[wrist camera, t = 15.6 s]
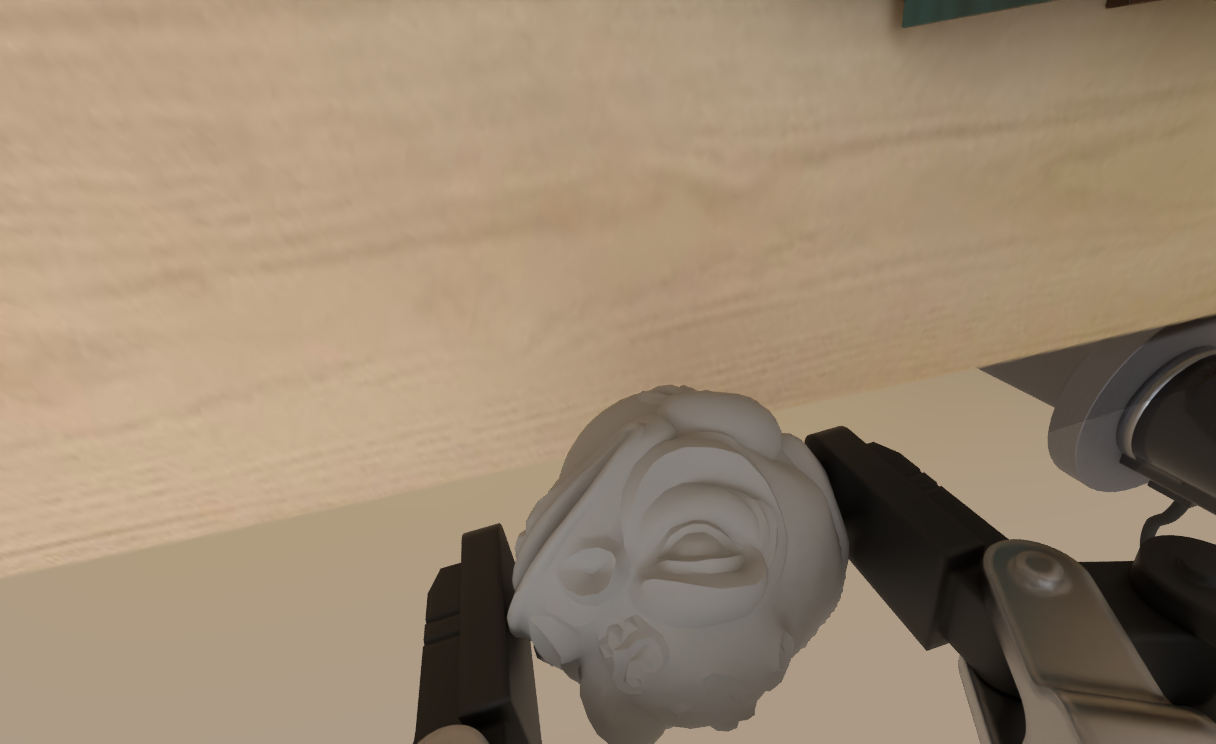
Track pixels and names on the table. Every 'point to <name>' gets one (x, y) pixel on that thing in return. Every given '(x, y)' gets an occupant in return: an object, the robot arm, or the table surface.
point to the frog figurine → (679, 562)
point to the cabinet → (1125, 2)
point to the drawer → (955, 9)
